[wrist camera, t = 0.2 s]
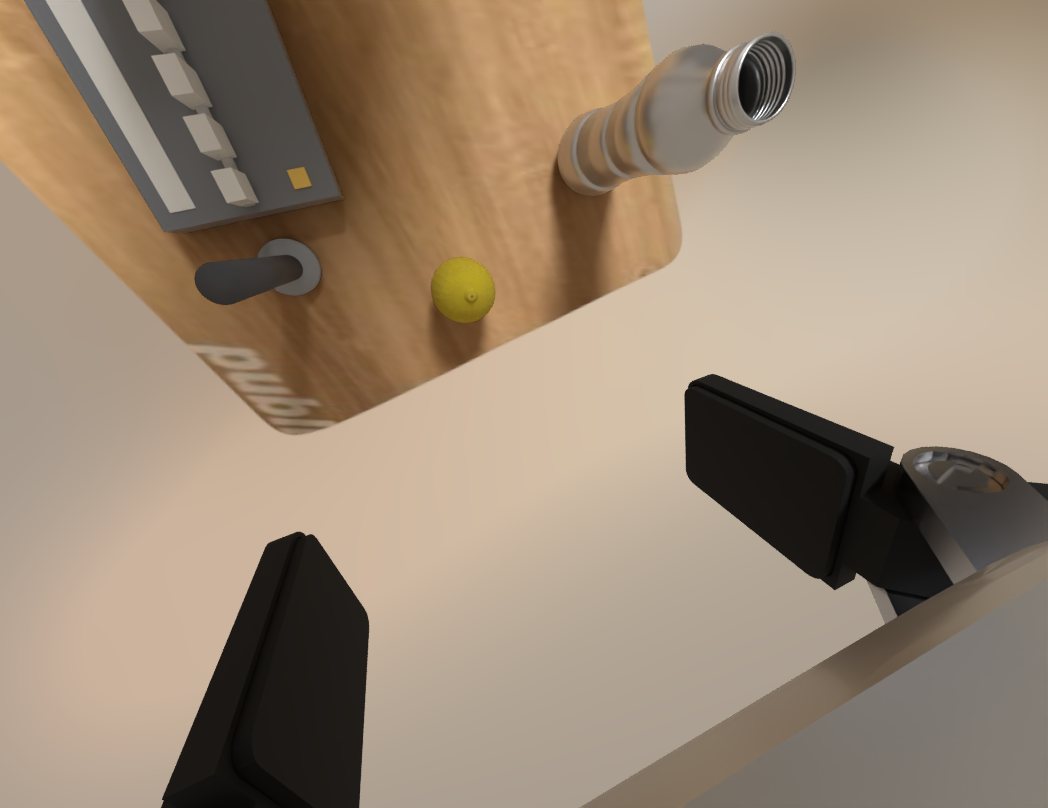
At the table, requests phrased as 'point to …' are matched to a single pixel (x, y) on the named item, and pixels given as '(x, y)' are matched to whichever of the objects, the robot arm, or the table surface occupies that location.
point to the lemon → (463, 290)
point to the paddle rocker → (191, 98)
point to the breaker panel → (157, 117)
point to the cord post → (261, 273)
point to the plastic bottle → (679, 114)
